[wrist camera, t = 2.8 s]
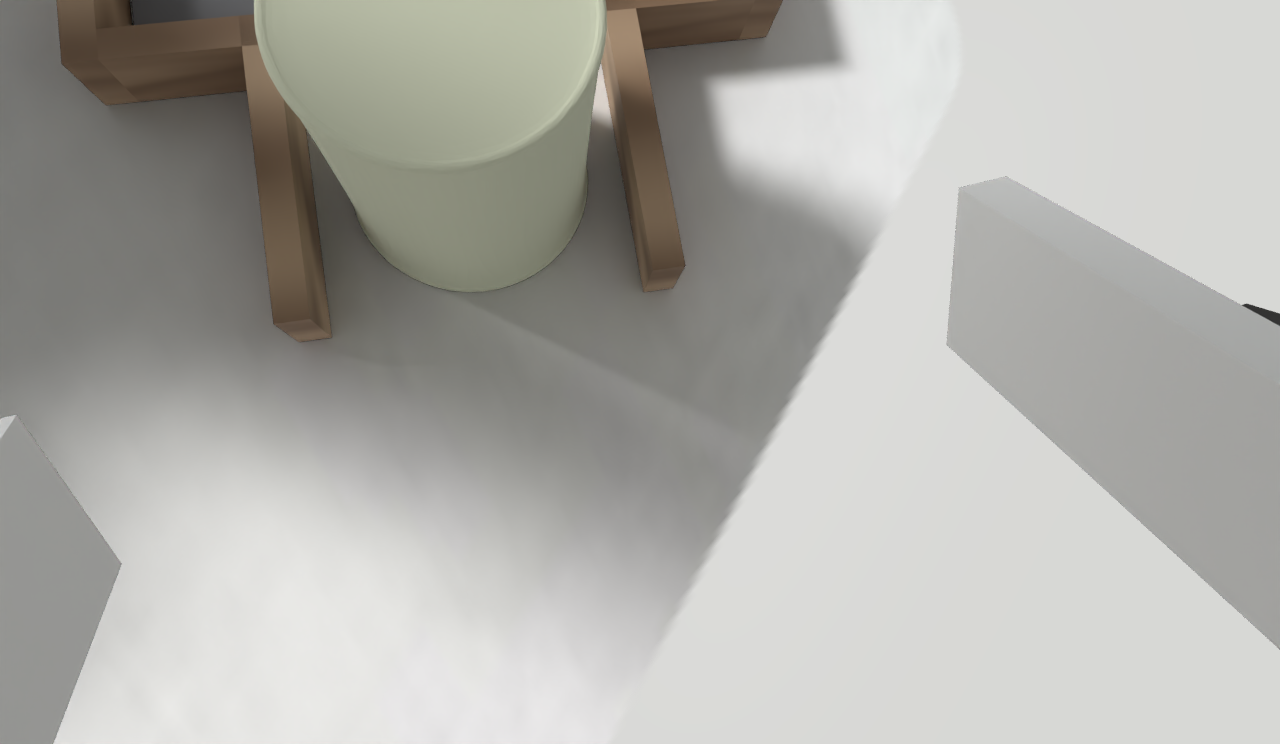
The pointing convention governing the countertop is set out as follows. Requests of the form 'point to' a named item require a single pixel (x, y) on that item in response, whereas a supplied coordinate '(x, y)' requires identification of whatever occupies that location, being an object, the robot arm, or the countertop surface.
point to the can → (447, 123)
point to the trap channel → (231, 62)
